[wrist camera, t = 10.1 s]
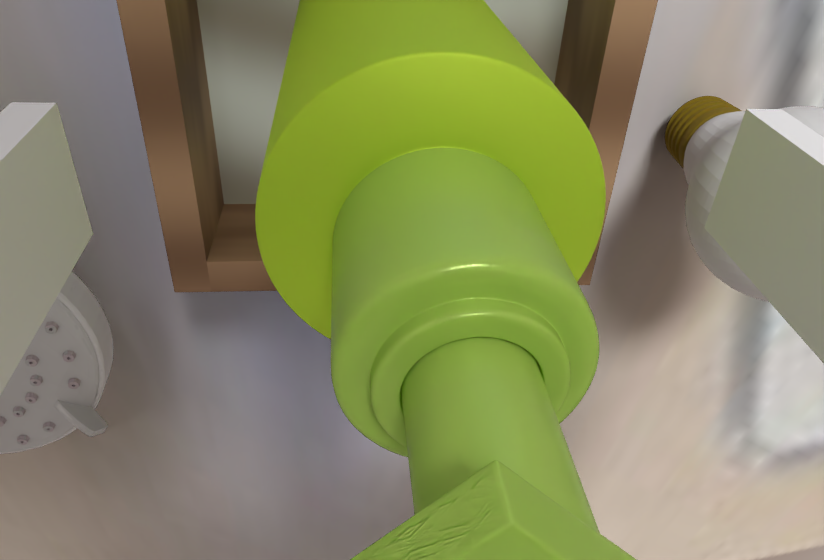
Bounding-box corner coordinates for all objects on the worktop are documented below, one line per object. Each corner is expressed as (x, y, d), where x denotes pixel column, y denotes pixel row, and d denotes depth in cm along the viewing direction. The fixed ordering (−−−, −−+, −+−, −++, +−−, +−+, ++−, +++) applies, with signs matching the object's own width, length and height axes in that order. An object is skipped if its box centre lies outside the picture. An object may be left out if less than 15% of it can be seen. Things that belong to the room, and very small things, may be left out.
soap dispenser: (408, 166, 25) (548, 850, 8) (259, 33, 21) (-1, 715, 5) (529, 51, 22) (1040, 654, 6) (384, -115, 19) (641, 210, 3)
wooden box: (127, -242, 18) (64, -262, 14) (632, -211, 19) (711, -221, 15) (200, 219, 26) (174, 292, 22) (552, 216, 28) (589, 284, 23)
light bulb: (610, 67, 24) (751, 191, 16) (770, 25, 24) (997, 130, 16) (618, 204, 27) (737, 364, 19) (758, 169, 27) (940, 317, 19)
